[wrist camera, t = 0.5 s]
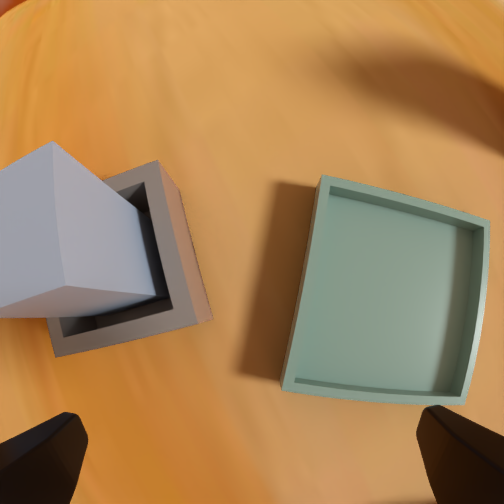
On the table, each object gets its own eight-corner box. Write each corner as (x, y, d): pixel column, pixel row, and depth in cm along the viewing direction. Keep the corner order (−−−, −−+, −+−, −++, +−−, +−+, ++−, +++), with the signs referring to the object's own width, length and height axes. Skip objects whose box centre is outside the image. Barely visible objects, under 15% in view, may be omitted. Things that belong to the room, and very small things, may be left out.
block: (173, 296, 20) (65, 285, 8) (106, 315, 20) (-28, 317, 8) (155, 223, 21) (52, 140, 9) (92, 245, 21) (-34, 193, 9)
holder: (213, 318, 20) (198, 323, 15) (94, 348, 20) (55, 357, 15) (179, 189, 22) (157, 159, 17) (71, 229, 22) (31, 212, 17)
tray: (448, 397, 19) (464, 404, 16) (279, 381, 20) (281, 390, 17) (473, 227, 21) (489, 220, 18) (316, 187, 21) (322, 174, 19)
